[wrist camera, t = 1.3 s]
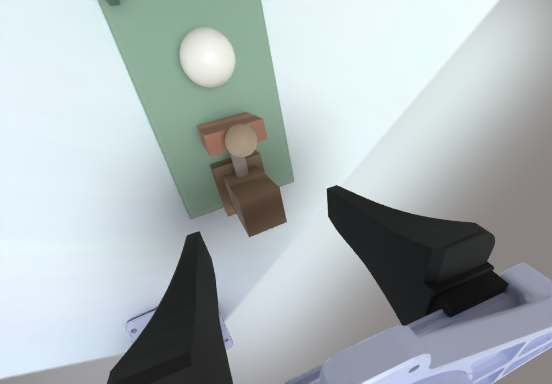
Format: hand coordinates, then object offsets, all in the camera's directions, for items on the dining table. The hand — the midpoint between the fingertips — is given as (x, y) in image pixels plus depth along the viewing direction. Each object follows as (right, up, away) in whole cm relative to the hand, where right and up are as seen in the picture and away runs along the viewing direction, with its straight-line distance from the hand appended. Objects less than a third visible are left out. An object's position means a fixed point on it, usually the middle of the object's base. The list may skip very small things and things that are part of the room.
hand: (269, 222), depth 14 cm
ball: (-4, +10, +3) cm, 11 cm away
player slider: (-3, +4, +8) cm, 9 cm away
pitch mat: (-4, +9, +6) cm, 12 cm away
